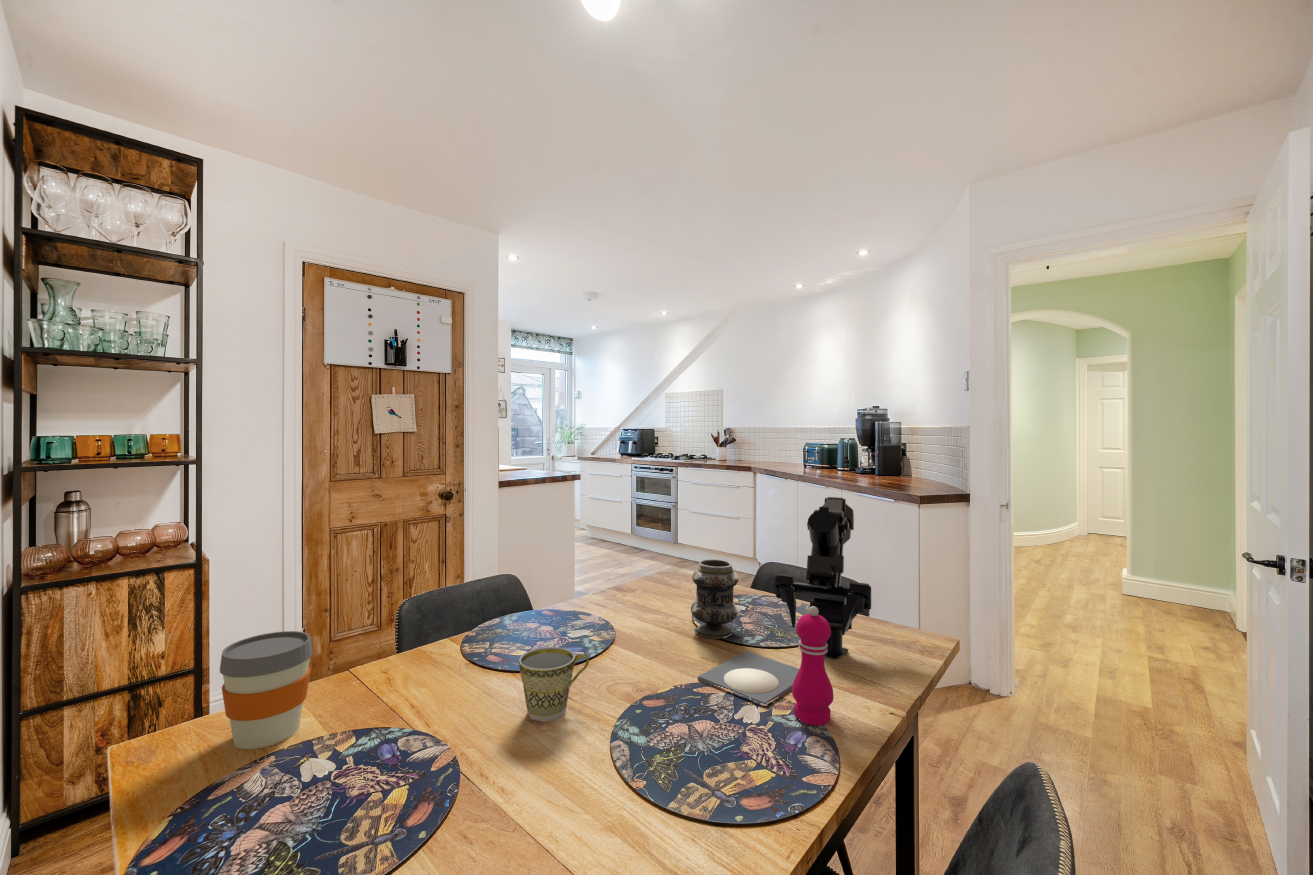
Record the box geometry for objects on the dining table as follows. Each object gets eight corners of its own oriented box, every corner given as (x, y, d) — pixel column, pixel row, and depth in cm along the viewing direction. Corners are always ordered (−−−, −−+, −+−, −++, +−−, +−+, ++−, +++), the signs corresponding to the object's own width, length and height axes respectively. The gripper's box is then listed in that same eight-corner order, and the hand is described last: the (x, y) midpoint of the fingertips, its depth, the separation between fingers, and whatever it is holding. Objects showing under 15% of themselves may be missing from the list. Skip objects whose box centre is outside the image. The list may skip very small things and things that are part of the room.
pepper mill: (835, 730, 93) (837, 614, 93) (792, 725, 94) (793, 611, 94) (830, 709, 100) (832, 601, 100) (790, 704, 101) (791, 598, 101)
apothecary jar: (740, 641, 132) (741, 568, 132) (691, 640, 133) (692, 567, 132) (734, 624, 144) (735, 557, 144) (689, 623, 145) (690, 556, 145)
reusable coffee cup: (239, 765, 81) (239, 666, 81) (205, 739, 88) (206, 648, 88) (326, 727, 92) (327, 640, 92) (290, 707, 99) (291, 625, 99)
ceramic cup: (525, 732, 91) (526, 673, 91) (512, 705, 100) (513, 652, 100) (597, 714, 97) (598, 659, 97) (579, 691, 106) (579, 640, 106)
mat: (746, 654, 125) (746, 650, 125) (810, 676, 114) (810, 671, 114) (697, 679, 111) (697, 675, 111) (764, 707, 100) (764, 702, 100)
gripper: (775, 534, 112) (763, 602, 102) (871, 542, 105) (869, 616, 95) (781, 564, 119) (771, 630, 109) (872, 573, 112) (870, 645, 102)
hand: (817, 630), depth 104 cm, fingers open, 9 cm apart
